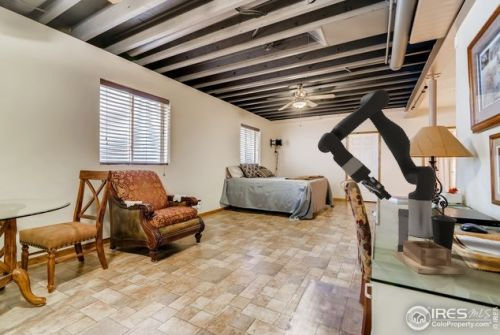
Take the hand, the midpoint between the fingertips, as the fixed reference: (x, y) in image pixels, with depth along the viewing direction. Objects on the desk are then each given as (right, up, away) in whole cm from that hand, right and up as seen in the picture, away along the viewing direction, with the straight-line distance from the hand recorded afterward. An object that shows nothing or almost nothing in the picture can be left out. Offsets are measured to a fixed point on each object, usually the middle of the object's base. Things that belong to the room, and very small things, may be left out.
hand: (386, 198), depth 95 cm
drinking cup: (+18, -21, -6) cm, 28 cm away
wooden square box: (+5, -20, -15) cm, 26 cm away
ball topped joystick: (+4, -20, -4) cm, 21 cm away
